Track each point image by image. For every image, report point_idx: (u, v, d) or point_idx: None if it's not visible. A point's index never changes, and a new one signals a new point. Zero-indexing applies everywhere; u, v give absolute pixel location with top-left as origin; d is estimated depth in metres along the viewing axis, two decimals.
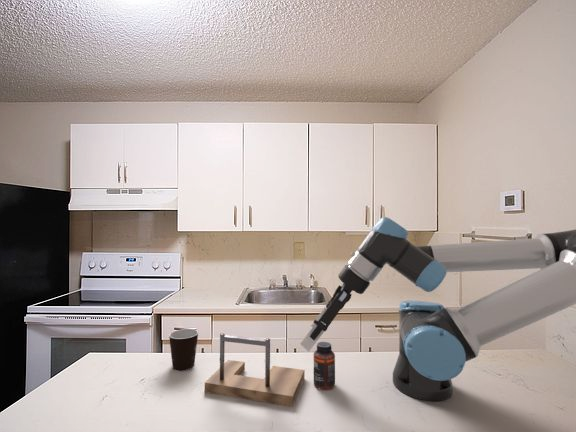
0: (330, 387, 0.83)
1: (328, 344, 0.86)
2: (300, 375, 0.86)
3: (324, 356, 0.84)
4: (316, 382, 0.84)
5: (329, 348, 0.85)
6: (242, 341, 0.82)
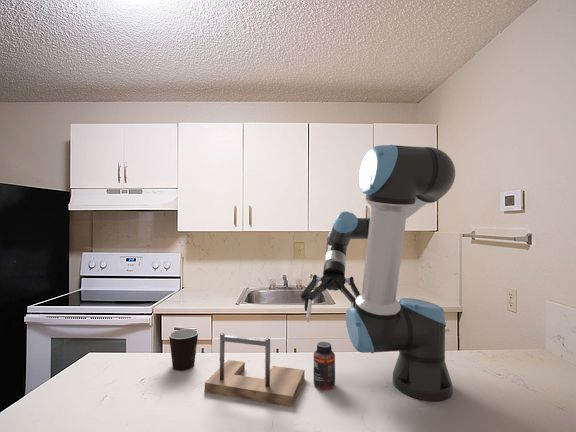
0: (330, 387, 0.83)
1: (328, 344, 0.86)
2: (300, 375, 0.86)
3: (324, 356, 0.84)
4: (316, 382, 0.84)
5: (329, 348, 0.85)
6: (242, 341, 0.82)
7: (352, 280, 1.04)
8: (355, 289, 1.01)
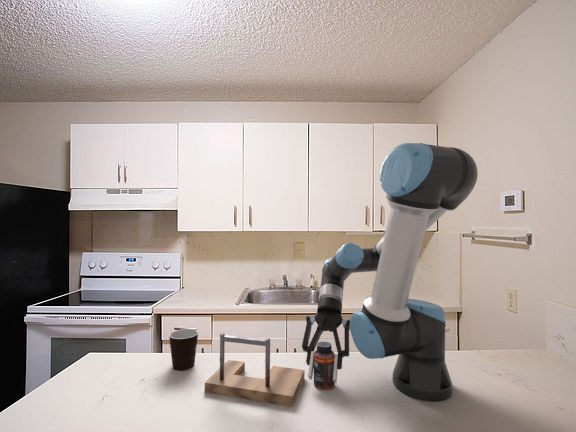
0: (330, 387, 0.83)
1: (328, 344, 0.86)
2: (300, 375, 0.86)
3: (324, 356, 0.84)
4: (316, 382, 0.84)
5: (329, 348, 0.85)
6: (242, 341, 0.82)
7: (348, 324, 0.91)
8: (346, 336, 0.88)
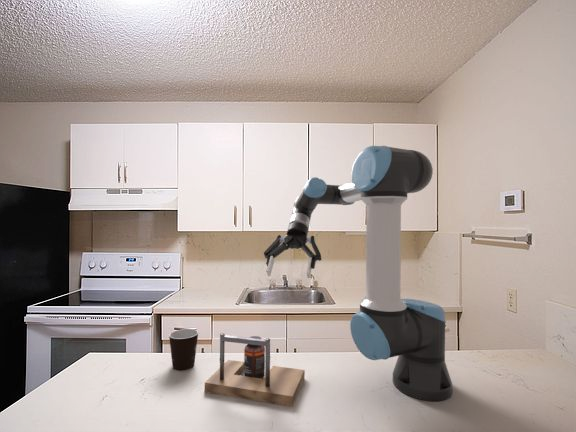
0: None
1: (258, 338, 0.90)
2: (300, 375, 0.86)
3: (253, 349, 0.87)
4: (245, 374, 0.88)
5: None
6: (242, 341, 0.82)
7: (313, 238, 1.10)
8: (314, 246, 1.07)
